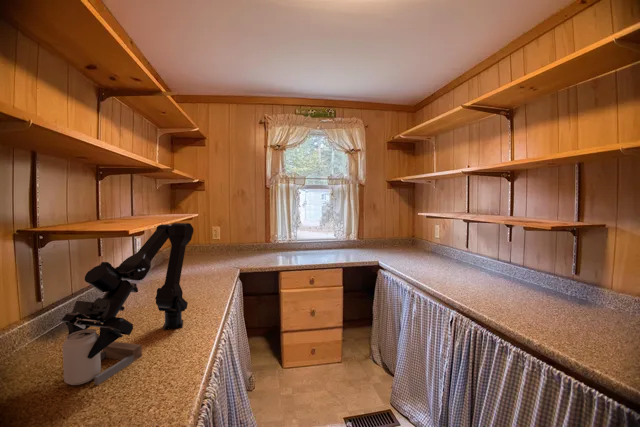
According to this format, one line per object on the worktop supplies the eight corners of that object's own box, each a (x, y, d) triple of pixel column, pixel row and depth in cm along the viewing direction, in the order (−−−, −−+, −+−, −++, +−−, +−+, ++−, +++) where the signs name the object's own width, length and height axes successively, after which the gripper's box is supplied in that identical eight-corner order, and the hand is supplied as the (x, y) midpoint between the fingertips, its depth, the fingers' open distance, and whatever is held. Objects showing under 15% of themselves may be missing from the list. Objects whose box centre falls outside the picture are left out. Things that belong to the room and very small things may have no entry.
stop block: (112, 352, 90) (111, 341, 90) (141, 356, 87) (141, 345, 87) (103, 357, 87) (102, 345, 87) (133, 361, 85) (133, 350, 84)
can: (107, 369, 79) (106, 327, 79) (86, 387, 72) (84, 340, 71) (80, 369, 79) (78, 327, 79) (56, 387, 72) (53, 341, 71)
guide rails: (103, 357, 87) (102, 350, 87) (133, 361, 85) (133, 354, 84) (63, 379, 76) (63, 372, 76) (97, 385, 74) (97, 377, 74)
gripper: (66, 284, 80) (20, 342, 70) (122, 288, 76) (82, 350, 66) (95, 301, 88) (57, 355, 78) (147, 306, 84) (114, 364, 74)
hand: (76, 356), depth 74 cm, fingers closed on can, 7 cm apart
